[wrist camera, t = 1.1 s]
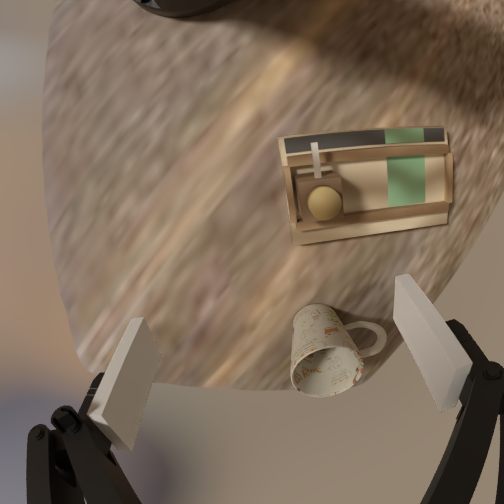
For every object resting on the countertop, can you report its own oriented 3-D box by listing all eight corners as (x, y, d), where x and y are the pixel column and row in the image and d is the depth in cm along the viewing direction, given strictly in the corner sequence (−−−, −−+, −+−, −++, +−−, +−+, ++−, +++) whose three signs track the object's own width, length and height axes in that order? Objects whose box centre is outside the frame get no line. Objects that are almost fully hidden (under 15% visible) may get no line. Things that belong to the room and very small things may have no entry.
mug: (278, 303, 41) (284, 356, 32) (372, 281, 39) (400, 327, 30) (290, 350, 44) (296, 403, 35) (374, 330, 43) (396, 378, 34)
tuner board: (277, 137, 32) (279, 138, 30) (440, 126, 31) (451, 127, 29) (292, 240, 37) (294, 249, 35) (441, 219, 36) (451, 226, 33)
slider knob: (289, 142, 31) (296, 147, 26) (327, 138, 31) (341, 142, 26) (298, 210, 34) (306, 228, 29) (334, 205, 34) (348, 222, 29)
